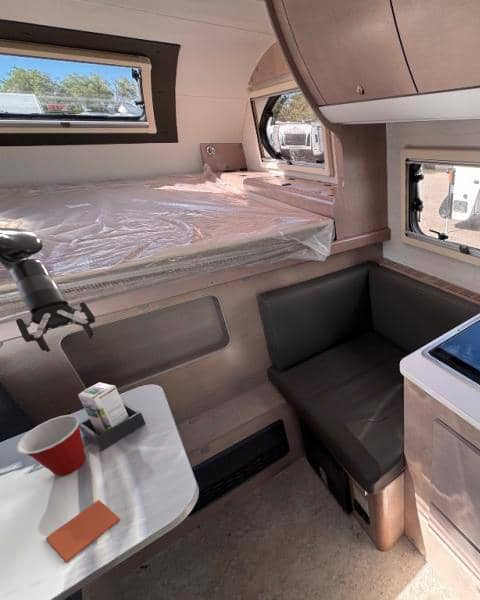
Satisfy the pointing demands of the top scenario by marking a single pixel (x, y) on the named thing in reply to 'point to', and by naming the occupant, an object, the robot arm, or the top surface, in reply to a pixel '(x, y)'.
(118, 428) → the caddy
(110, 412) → the syrup box
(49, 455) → the plastic cup
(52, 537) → the mat
